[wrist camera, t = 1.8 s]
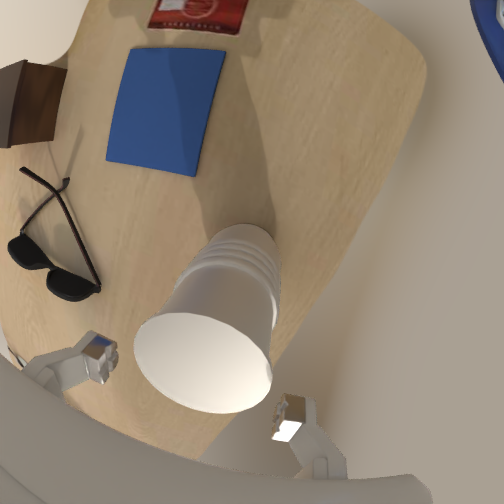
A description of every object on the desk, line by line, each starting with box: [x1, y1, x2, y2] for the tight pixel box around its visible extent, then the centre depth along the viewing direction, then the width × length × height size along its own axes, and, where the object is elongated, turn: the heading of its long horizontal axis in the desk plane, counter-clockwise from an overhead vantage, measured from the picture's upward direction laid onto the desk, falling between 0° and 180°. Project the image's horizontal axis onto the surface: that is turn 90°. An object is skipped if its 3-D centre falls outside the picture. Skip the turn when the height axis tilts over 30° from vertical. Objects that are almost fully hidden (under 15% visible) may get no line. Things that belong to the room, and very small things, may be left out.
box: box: [0, 60, 67, 148], centre depth 18 cm, size 9×9×8 cm
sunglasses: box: [8, 167, 101, 302], centre depth 25 cm, size 17×14×5 cm
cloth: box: [106, 48, 226, 177], centre depth 21 cm, size 12×10×1 cm
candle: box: [134, 223, 282, 413], centre depth 18 cm, size 7×7×15 cm
